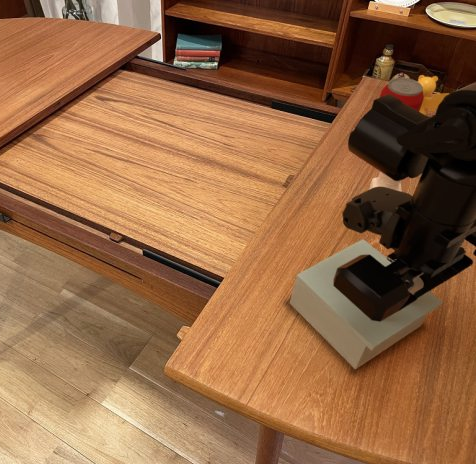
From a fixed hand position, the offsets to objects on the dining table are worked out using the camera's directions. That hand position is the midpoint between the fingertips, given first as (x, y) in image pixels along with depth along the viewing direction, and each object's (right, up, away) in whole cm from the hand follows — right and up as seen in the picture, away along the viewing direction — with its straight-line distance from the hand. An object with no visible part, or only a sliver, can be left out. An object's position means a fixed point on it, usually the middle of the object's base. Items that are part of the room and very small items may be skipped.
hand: (395, 306), depth 58 cm
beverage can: (+13, +24, +33) cm, 43 cm away
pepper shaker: (+6, +11, +20) cm, 24 cm away
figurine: (+22, +32, +41) cm, 56 cm away
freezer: (-2, -2, +7) cm, 8 cm away
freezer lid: (-2, +1, +3) cm, 4 cm away
